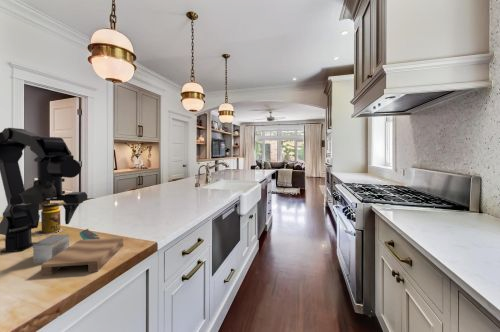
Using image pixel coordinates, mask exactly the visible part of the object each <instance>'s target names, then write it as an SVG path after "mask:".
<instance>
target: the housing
mask: <svg viewBox="0 0 500 332" xmlns="http://www.w3.org/2000/svg"><path fill="white" fill-rule="evenodd" d="M68 247H70V235H69V234H68V233H65V234H64V233H63V234H50V235H48V236H47V237H45V238H43V239H41V240H39V241H37V243H35V244H33V246H32V250H33V254H32V255H33V264H43V263H45V262H46V261H48V260H49V259H51V258H53V257H54V256H56V255H57V254H59V253H60V252H62V251H64V250H65V249H67V248H68Z"/></svg>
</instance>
